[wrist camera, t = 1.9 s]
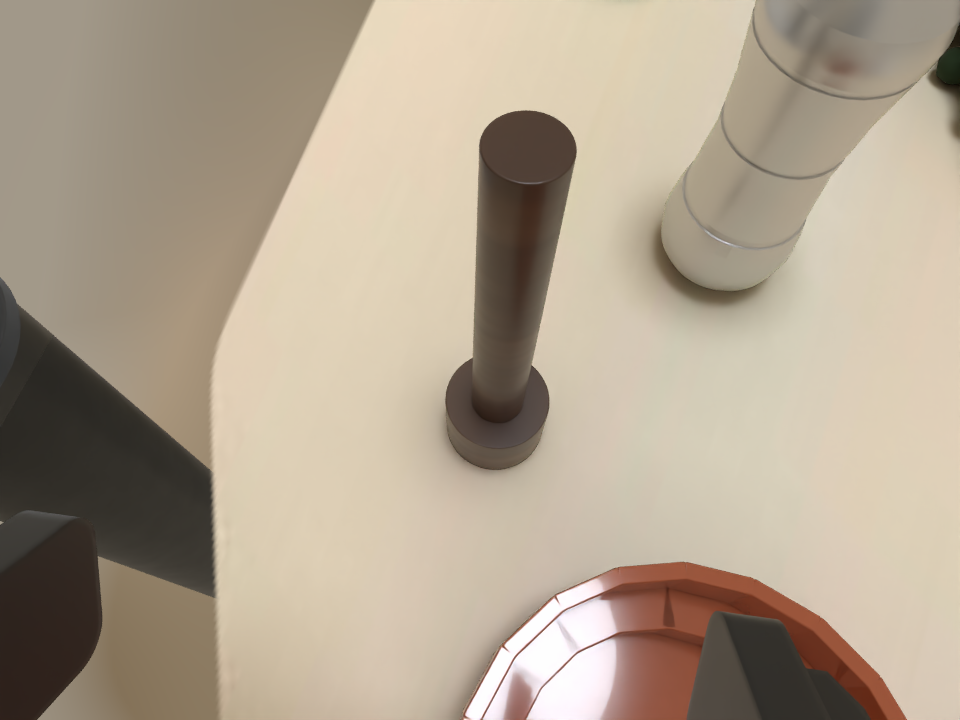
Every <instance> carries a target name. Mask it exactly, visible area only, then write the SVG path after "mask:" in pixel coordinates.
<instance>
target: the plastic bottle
mask: <svg viewBox="0 0 960 720" xmlns="http://www.w3.org/2000/svg"><path fill="white" fill-rule="evenodd" d="M959 23H960V0H756V1H755V7H754V9H753V12H752V16H751V20H750V24H749V27H748V31H747V35H746V38H745V42H744V46H743V49H742V53H741V57H740V60H739V64H738V68H737V71H736V73H735V76H734V78H733V81H732V84H731V86H730V89H729V91H728V94H727V97H726V100H725V102H724V105H723V107H722V109H721V112H720V115H719V117H718V120H717V122H716V123H715V125H714V127H713V128H712V130H711V132H710V134H709V135H708V137H707V139H706V141H705V142H704V144H703V146H702V147H701V149H700V151H699V153H698V154H697V156H696V158H695V160H694V161H693V162H692V163H691V165H690V166H689V167H688V168H687V169H686V171H685V172H684V173H683V174H682V176H681V177H680V178H679V180H678V182H677V183H676V185H675V186H674V188H673V189H672V191H671V192H670V194H669V196H668V198H667V201H666V203H665V209H664V215H663V221H662V227H661V238H662V243H663V246H664V250H665V251H666V253H667V255H668V257H669V259H670V261H671V262H672V263H673V265H674V266H675V267H676V268H677V270H678V271H679V272H680V273H681V274H682V275H683V276H685V277H686V278H687V279H689V280H690V281H692V282H693V283H695V284H697V285H700V286H702V287H704V288H708V289H713V290H722V291H737V290H744V289H747V288H750V287H753V286H755V285H757V284H759V283H761V282H762V281H764V280H765V279H766V278H767V277H769V276H770V275H771V274H772V273H774V272H775V271H776V270H777V269H779V268H780V267H781V266H782V265H783V264H784V263H785V262H786V260H787V259H788V257H789V256H790V254H791V253H792V251H793V249H794V247H795V245H796V243H797V241H798V239H799V237H800V235H801V232H802V230H803V227H804V224H805V221H806V218H807V216H808V214H809V213H810V211H811V209H812V207H813V206H814V204H815V202H816V201H817V199H818V197H819V196H820V194H821V192H822V190H823V189H824V187H825V185H826V184H827V182H828V180H829V179H830V177H831V176H832V174H833V173H834V172H835V171H836V170H837V168H838V167H839V166H840V165H841V164H842V162H843V161H844V159H845V158H846V157H847V156H848V155H849V154H850V153H851V151H852V150H853V149H854V148H855V147H856V145H857V144H858V143H859V142H860V141H861V139H862V138H863V137H864V136H865V135H866V133H867V132H868V131H869V130H870V128H871V127H872V126H873V125H874V124H875V123H876V122H877V121H878V120H879V119H880V118H881V117H882V116H883V115H884V114H885V113H886V112H887V111H888V110H889V109H891V108H892V107H893V106H894V105H895V104H896V103H897V102H898V101H899V100H900V99H901V98H902V97H903V96H904V95H905V94H906V93H907V92H908V91H909V90H910V89H911V88H912V87H913V86H914V85H915V84H916V83H917V82H918V81H919V80H920V79H921V77H923V76H924V75H925V74H926V73H927V72H928V71H929V70H930V69H931V68H932V66H933V65H934V64H935V63H936V62H937V60H938V59H939V58H940V57H941V56H942V55H943V54H944V53H945V52H946V50H947V49H948V47H949V45H950V44H951V42H952V41H953V38H954V36H955V33H956V31H957V28H958V26H959Z"/></svg>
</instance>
